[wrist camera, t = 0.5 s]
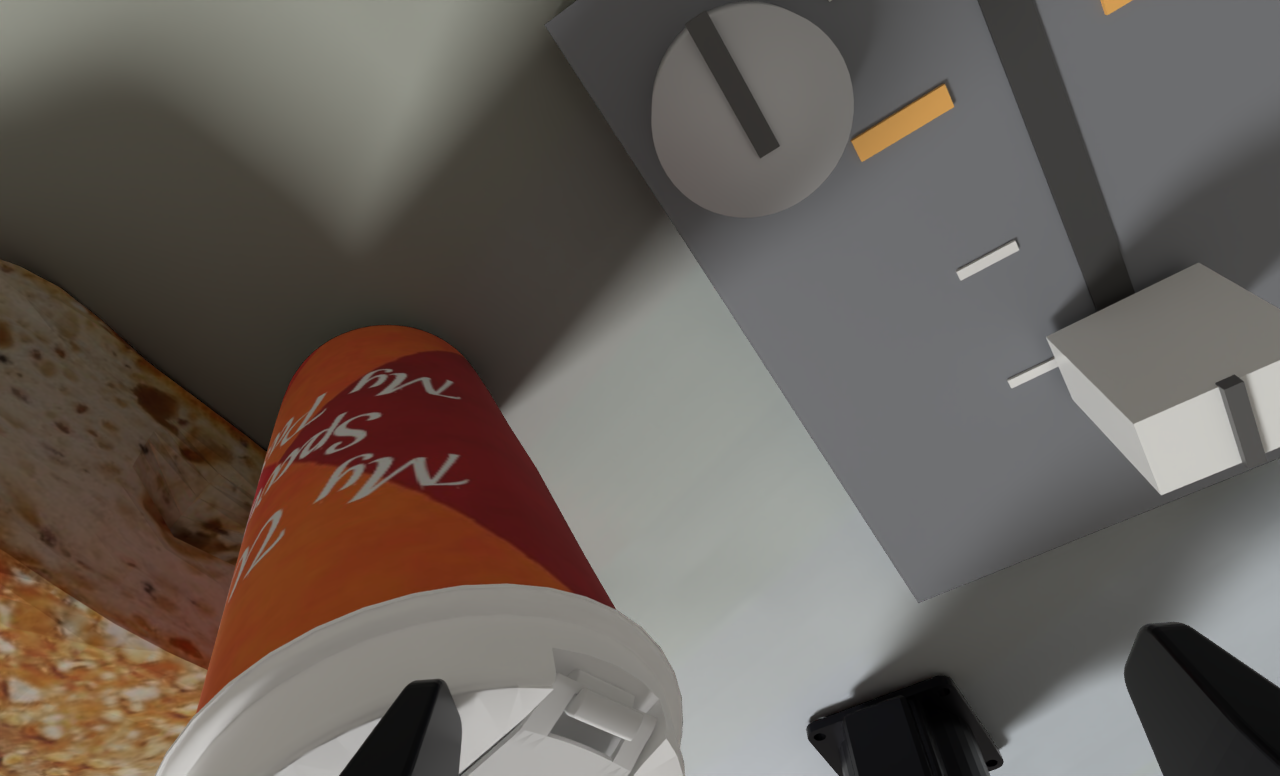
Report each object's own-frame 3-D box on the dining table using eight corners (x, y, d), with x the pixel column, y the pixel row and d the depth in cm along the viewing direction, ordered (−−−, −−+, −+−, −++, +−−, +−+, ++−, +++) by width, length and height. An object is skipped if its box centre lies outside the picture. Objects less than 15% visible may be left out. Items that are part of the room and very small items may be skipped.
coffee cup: (359, 227, 21) (407, 557, 8) (568, 386, 25) (808, 758, 13) (172, 447, 21) (-49, 1063, 9) (407, 564, 26) (483, 1083, 13)
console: (1394, 368, 23) (1512, 435, 20) (906, 572, 28) (938, 652, 25) (1241, -503, 14) (1413, -637, 11) (552, 19, 19) (530, 33, 15)
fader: (1219, 333, 20) (1355, 426, 16) (1072, 400, 22) (1166, 502, 18) (1198, 260, 19) (1337, 340, 15) (1045, 335, 21) (1137, 427, 17)
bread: (474, 594, 29) (397, 865, 20) (167, 745, 34) (3, 1011, 26) (2, 139, 21) (-469, 274, 12) (-309, 432, 26) (-791, 672, 17)
